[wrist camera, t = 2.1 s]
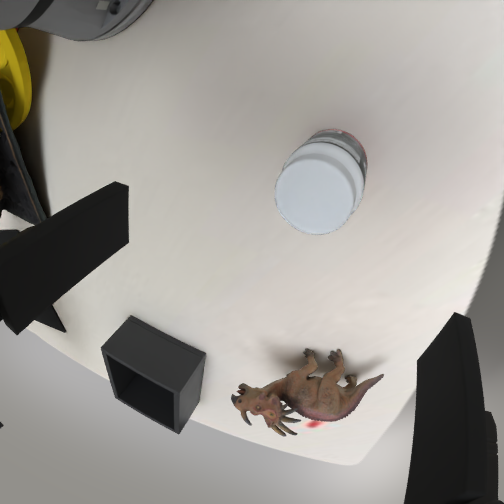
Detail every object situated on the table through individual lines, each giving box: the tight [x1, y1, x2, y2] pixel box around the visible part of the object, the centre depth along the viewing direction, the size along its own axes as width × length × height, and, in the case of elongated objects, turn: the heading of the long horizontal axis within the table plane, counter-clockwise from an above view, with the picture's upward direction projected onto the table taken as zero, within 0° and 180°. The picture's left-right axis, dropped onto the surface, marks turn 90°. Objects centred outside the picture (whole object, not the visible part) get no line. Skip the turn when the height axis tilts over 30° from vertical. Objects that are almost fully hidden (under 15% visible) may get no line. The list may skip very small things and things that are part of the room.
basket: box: [101, 316, 206, 434], centre depth 41 cm, size 14×12×7 cm
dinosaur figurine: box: [231, 349, 384, 436], centre depth 29 cm, size 14×6×9 cm, turn 103°
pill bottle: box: [275, 129, 367, 235], centre depth 19 cm, size 5×5×8 cm
